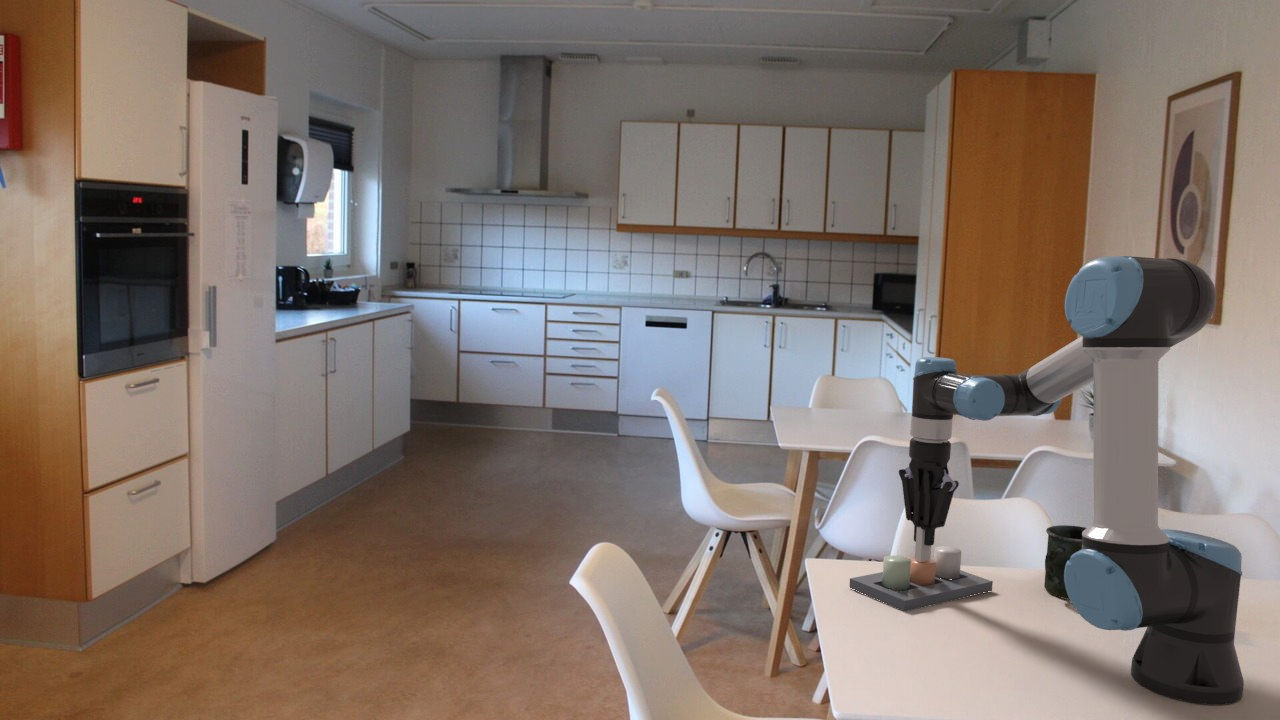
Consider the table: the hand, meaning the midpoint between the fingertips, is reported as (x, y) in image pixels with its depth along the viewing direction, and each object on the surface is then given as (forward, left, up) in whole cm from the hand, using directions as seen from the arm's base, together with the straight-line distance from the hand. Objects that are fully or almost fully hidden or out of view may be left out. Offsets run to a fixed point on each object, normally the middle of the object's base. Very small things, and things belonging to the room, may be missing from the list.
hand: (922, 560), depth 196 cm
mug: (-15, -24, -6) cm, 29 cm away
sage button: (0, +7, -4) cm, 8 cm away
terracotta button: (0, 0, -5) cm, 5 cm away
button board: (0, 0, -6) cm, 6 cm away
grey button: (0, -7, -4) cm, 8 cm away
